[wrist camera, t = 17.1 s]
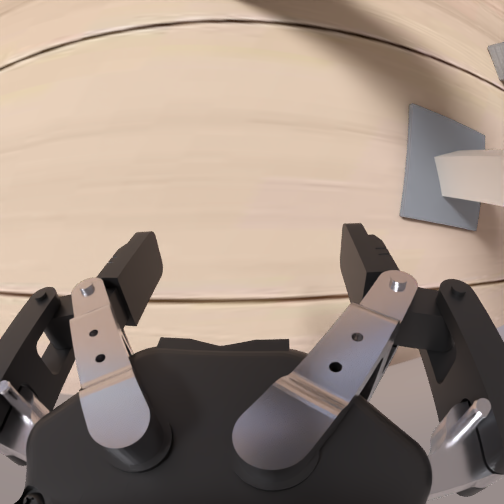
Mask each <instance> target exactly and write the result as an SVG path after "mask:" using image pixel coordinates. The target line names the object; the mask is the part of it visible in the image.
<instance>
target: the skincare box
mask: <svg viewBox="0 0 504 504" xmlns="http://www.w3.org/2000/svg"><path fill="white" fill-rule="evenodd" d="M487 48H488V50H489V53H490V55H491V58H492V60H493V63H494V66H495V68H496V71H497V74H498V77H499V79H500V80H501V81H504V42H501V43H498V44H494V45H491V46H488V47H487Z"/></svg>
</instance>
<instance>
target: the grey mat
mask: <svg viewBox="0 0 504 504" xmlns="http://www.w3.org/2000/svg"><path fill="white" fill-rule="evenodd" d="M459 150H485V135H483V134H481V133H479V132H477V131H475V130H473V129H471V128H469V127H467V126H465V125H463V124H461V123H458V122H456V121H454V120H452V119H450V118H447V117H445V116H443V115H440V114H438V113H436V112H433V111H431V110H428V109H426V108H423V107H421V106H418V105H415V104H410V105H409V127H408V144H407V157H406V168H405V178H404V186H403V194H402V202H401V209H400V216H402V217H407V218H413V219H418V220H423V221H429V222H434V223H439V224H444V225H449V226H454V227H459V228H463V229H468V230H473V231H476V230H477V224H478V218H479V211H480V203H481V202H476V201H471V200H465V199H459V198H452V197H446V196H442V192H441V187H440V182H439V177H438V172H437V168H436V163H435V159H434V157H436V156H440V155H444V154H447V153H451V152H455V151H459Z"/></svg>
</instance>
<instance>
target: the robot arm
mask: <svg viewBox="0 0 504 504" xmlns="http://www.w3.org/2000/svg"><path fill="white" fill-rule="evenodd" d="M340 267H341V272H342V276H343V279H344V282H345V285H346V289H347V292H348V295H349V299H350V302H351V304H350V305H349V306H348V307H347V308H346V310H345V311H344V312H343V313H342V315H341V316H340V317H339V318H338V319H337V321H336V322H335V323H334V324H333V326H332V327H331V328H330V329H329V330H328V332H327V333H326V334H325V335H324V336H323V338H322V339H321V340H320V341H319V342H318V343H317V345H316V346H315V347H314V348H313V349H312V350H311V351H310V353H309V354H307V353H304V352H301V351H297V350H293V349H289V339H275V340H252V341H247V342H242V343H236V344H231V345H225V346H217V345H213V344H209V343H205V342H201V341H197V340H193V339H183V338H163V337H161V338H160V340H159V343H158V345H157V347H152V348H148V349H145V350H142V351H139V352H137V353H135V354H134V353H133V351H132V348H131V346H130V343H129V341H128V338H127V336H126V334H125V331H124V329H123V328H124V326H125V325H127V326H137V324H138V322H139V320H140V318H141V316H142V314H143V312H144V309H145V307H146V305H147V303H148V301H149V299H150V297H151V295H152V293H153V291H154V289H155V288H156V286H157V284H158V282H159V280H160V278H161V276H162V272H163V264H162V260H161V256H160V252H159V248H158V244H157V240H156V236H155V234H154V232H152V231H151V232H137V233H135V235H134V236H133V237H132V238H131V239H130V241H129V242H128V243H127V244H125V245H124V246H123V247H121V248H120V249H118V250H117V252H116V253H115V254H114V255H113V258H111V259H110V260H109V263H107V264H106V266H105V267H104V268H103V270H102V271H101V272H100V273H99V275H98V276H97V277H95V278H88V279H85V280H83V281H81V282H80V283H78V284H77V285H76V286H75V287H74V288H73V290H72V292H71V295H67V296H62V297H59V296H58V294H57V292H56V290H55V289H54V288H52V287H46V288H43V289H40V290H39V291H37V292H36V293H34V294H33V295H32V296H31V297H30V299H29V300H28V301H27V303H26V304H25V305H24V307H23V308H22V309H21V311H20V312H19V313H18V315H17V316H16V317H15V319H14V320H13V322H12V323H11V324H10V326H9V327H8V329H7V330H6V332H5V333H4V335H3V336H2V338H1V339H0V453H1V454H3V455H6V456H7V457H8V458H10V459H11V460H12V461H14V462H15V463H16V464H18V465H22V466H24V465H27V473H26V484H25V489H24V492H23V494H22V496H21V498H20V499H19V500H18V501H17V502H16V503H14V504H426V501H429V500H433V499H437V498H440V497H443V496H447V495H450V494H453V493H457V494H459V495H460V496H464V497H468V496H472V495H474V494H476V493H478V492H479V491H481V490H483V489H485V488H486V487H488V486H490V485H491V484H493V483H495V482H496V481H498V480H499V479H501V478H502V477H504V342H503V340H502V339H501V336H500V335H499V333H498V331H497V329H496V327H495V326H494V324H493V322H492V320H491V318H490V317H489V315H488V313H487V312H486V310H485V308H484V307H483V305H482V303H481V302H480V300H479V298H478V297H477V295H476V294H475V292H474V291H473V289H472V288H471V287H470V286H469V285H468V284H466V283H464V282H462V281H460V280H455V279H448V280H445V281H443V282H442V283H441V285H440V288H439V291H437V290H430V289H424V288H420V287H418V284H417V281H416V280H415V278H414V277H413V276H411V275H410V274H408V273H406V272H403V271H400V270H399V269H398V267H397V265H396V263H395V262H394V260H393V258H392V256H391V255H390V253H389V251H388V250H387V249H386V246H385V245H384V243H383V241H382V240H381V239H379V238H378V237H376V236H375V235H368V234H367V232H366V230H365V229H364V227H363V225H362V224H361V223H351V224H343V228H342V241H341V254H340ZM43 332H45V334H46V336H47V337H48V339H49V340H50V344H49V345H48V347H47V349H46V351H45V353H44V354H43V356H42V358H40V356H39V355H38V353H37V349H36V346H37V342H38V340H39V338H40V336H41V335H42V333H43ZM398 346H404V347H411V348H417V349H419V351H420V354H421V357H422V360H423V363H424V367H425V369H426V373H427V377H428V380H429V384H430V387H431V391H432V394H433V398H434V402H435V406H436V410H437V414H438V418H439V422H440V423H439V424H438V426H437V427H436V428H435V430H434V431H433V433H432V435H431V440H430V445H431V446H430V447H431V448H430V453H429V455H428V456H427V454H426V452H425V451H424V450H423V448H422V447H421V446H420V445H419V444H418V443H417V442H416V441H415V440H413V439H412V438H411V437H410V436H409V435H407V434H406V433H405V432H404V431H403V430H401V429H400V428H399V427H398V426H397V425H395V424H394V423H393V422H392V421H390V420H389V419H388V418H387V417H386V416H385V415H383V414H382V413H381V412H380V411H379V410H377V409H376V408H375V407H374V406H373V405H372V404H370V403H369V400H370V399H371V397H372V395H373V393H374V391H375V389H376V387H377V385H378V383H379V381H380V380H381V378H382V376H383V374H384V373H385V371H386V369H387V367H388V365H389V364H390V362H391V360H392V358H393V356H394V354H395V352H396V350H397V349H398ZM75 359H76V365H77V370H78V375H79V379H80V384H81V389H80V390H79V392H78V393H77V394H75V395H74V396H72V397H71V398H70V399H68V400H67V401H65V402H64V403H62V404H61V405H59V406H58V407H56V408H55V409H54V410H53V408H54V406H55V403H56V401H57V399H58V396H59V394H60V392H61V389H62V387H63V385H64V383H65V380H66V378H67V376H68V374H69V372H70V370H71V368H72V365H73V363H74V361H75Z"/></svg>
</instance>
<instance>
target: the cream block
mask: <svg viewBox="0 0 504 504" xmlns="http://www.w3.org/2000/svg"><path fill="white" fill-rule="evenodd" d="M434 159H435V163H436V168H437V172H438V177H439V182H440V187H441V192H442V196H446V197H452V198H459V199H465V200H471V201H476V202H482V203H487V204H493V205H498V206H503V207H504V150H459V151H455V152H451V153H447V154H444V155H440V156H436V157H434Z"/></svg>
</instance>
